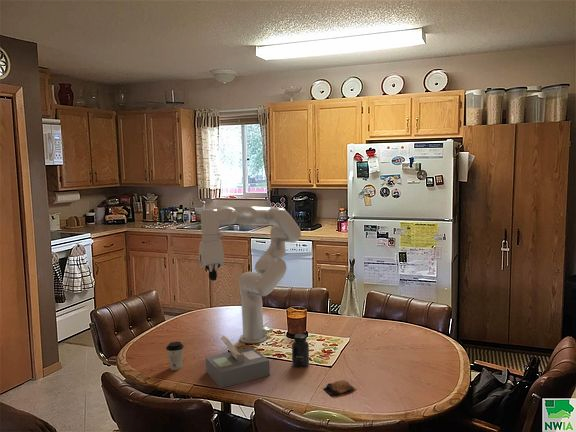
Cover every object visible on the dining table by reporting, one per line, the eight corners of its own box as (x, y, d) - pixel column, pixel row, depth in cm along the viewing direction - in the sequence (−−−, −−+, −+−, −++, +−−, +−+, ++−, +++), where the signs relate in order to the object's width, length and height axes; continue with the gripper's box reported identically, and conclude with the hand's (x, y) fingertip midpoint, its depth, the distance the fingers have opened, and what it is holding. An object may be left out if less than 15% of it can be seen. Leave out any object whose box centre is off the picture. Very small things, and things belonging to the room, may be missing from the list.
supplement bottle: (297, 369, 192) (296, 340, 191) (289, 363, 198) (288, 334, 197) (312, 365, 195) (311, 336, 194) (304, 359, 201) (303, 331, 200)
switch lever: (238, 352, 192) (224, 334, 189) (243, 357, 188) (229, 338, 184) (233, 357, 191) (219, 338, 188) (238, 361, 187) (224, 343, 183)
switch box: (252, 360, 202) (251, 339, 201) (269, 375, 188) (268, 352, 187) (206, 372, 192) (205, 350, 191) (220, 388, 178) (219, 364, 177)
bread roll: (345, 383, 180) (345, 373, 180) (358, 392, 173) (358, 382, 172) (320, 390, 175) (320, 380, 175) (333, 399, 168) (333, 389, 167)
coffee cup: (176, 372, 193) (174, 348, 192) (163, 369, 196) (162, 345, 195) (188, 366, 199) (187, 342, 198) (176, 362, 202) (174, 339, 201)
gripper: (224, 234, 214) (226, 275, 216) (191, 238, 207) (193, 280, 209) (230, 236, 208) (232, 279, 210) (196, 240, 201) (199, 284, 203)
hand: (213, 279), depth 210 cm, fingers closed
